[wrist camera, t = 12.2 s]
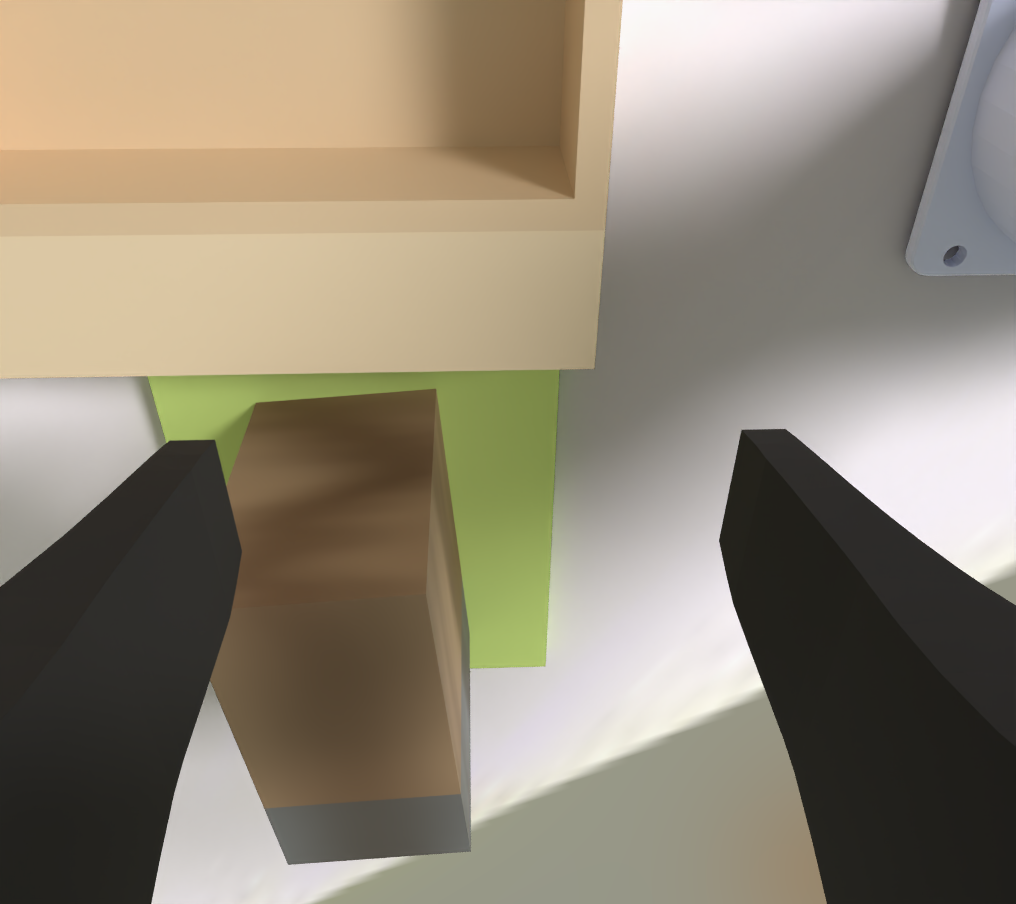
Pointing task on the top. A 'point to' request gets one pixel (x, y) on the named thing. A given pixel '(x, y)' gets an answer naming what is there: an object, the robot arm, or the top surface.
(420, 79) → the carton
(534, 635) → the mat
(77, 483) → the top surface
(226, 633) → the box
